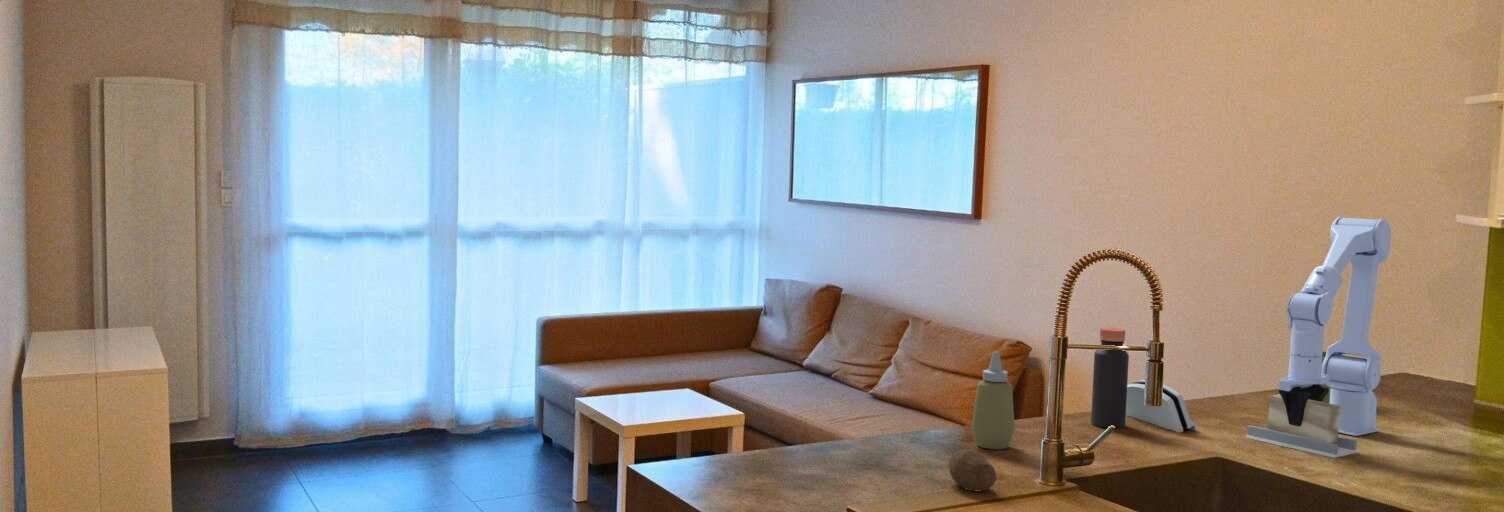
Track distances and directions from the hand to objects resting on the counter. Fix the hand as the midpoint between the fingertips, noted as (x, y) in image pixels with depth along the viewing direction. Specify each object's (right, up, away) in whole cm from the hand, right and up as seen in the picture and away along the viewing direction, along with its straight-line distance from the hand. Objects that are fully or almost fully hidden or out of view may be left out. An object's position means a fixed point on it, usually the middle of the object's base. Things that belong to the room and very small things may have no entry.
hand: (1301, 423), depth 226 cm
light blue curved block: (-23, -3, +17) cm, 28 cm away
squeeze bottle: (-62, -3, -7) cm, 62 cm away
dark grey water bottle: (-34, -2, +14) cm, 36 cm away
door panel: (0, -2, 0) cm, 2 cm away
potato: (-71, -6, -35) cm, 80 cm away
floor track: (0, -4, 0) cm, 4 cm away
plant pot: (+25, -1, +44) cm, 51 cm away
